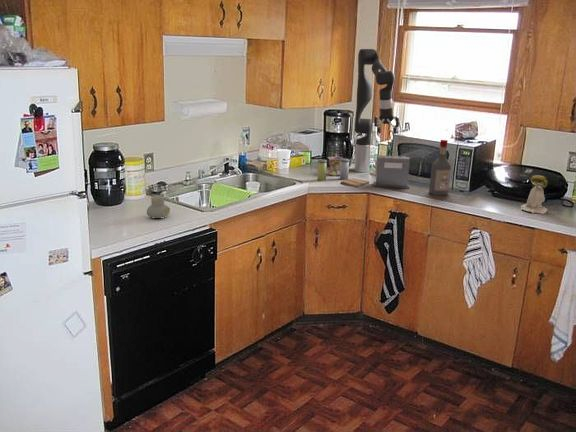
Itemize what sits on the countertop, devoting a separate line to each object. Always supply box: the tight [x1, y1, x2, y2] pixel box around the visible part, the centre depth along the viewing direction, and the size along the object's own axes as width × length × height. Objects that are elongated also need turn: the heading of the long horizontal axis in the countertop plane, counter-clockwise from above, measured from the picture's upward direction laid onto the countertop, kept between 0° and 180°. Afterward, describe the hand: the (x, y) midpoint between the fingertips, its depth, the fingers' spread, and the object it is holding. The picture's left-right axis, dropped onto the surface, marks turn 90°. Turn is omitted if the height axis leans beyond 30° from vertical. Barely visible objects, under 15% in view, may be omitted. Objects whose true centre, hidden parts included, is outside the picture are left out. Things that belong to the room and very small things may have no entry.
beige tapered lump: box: [520, 174, 548, 215], centre depth 305 cm, size 12×13×18 cm
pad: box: [340, 177, 370, 188], centre depth 351 cm, size 12×12×1 cm
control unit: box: [373, 154, 411, 189], centre depth 346 cm, size 9×20×17 cm, turn 84°
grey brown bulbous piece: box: [146, 194, 171, 219], centre depth 281 cm, size 11×8×10 cm
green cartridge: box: [317, 159, 328, 182], centre depth 355 cm, size 5×5×12 cm
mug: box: [326, 156, 344, 177], centre depth 369 cm, size 12×9×11 cm
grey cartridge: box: [339, 158, 350, 181], centre depth 360 cm, size 5×5×12 cm
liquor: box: [428, 139, 452, 196], centre depth 331 cm, size 9×9×30 cm
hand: (387, 133), depth 350 cm, fingers open, 8 cm apart
